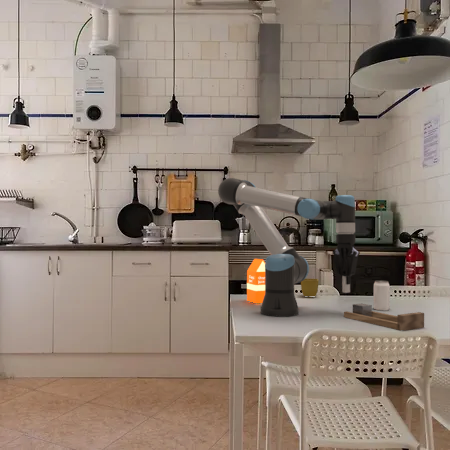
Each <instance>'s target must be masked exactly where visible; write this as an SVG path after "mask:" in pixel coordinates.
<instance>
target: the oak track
mask: <svg viewBox="0 0 450 450" xmlns="http://www.w3.org/2000/svg"><path fill="white" fill-rule="evenodd" d="M343 317H344V318H346V319H351V320H355V321H358V322H359V321H360V322H363V323H368V324H371V325H376V326H380V327H384V328H389V329H394V330H397V331H401V330H404V331H409V330H410V331H411V330H417V329H423V328H425V313H424V312H420V311H418V312H417V311H416V312H410V313H409V312H408V313H401V314H397V315H393V314H389V313H384V312H378V311H375V310H372V317H370V316H365V315H361V314H356V313H353V312H350V311H343Z"/></svg>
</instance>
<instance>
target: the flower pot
mask: <svg viewBox="0 0 450 450" xmlns="http://www.w3.org/2000/svg"><path fill="white" fill-rule="evenodd" d="M319 281H320V280H319V279H318V278H305V279H304V280H303V281H301V282H300V289H301V293H302V295H303V297H304V296H315V297H316V296H317V294H318V290H319Z"/></svg>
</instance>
